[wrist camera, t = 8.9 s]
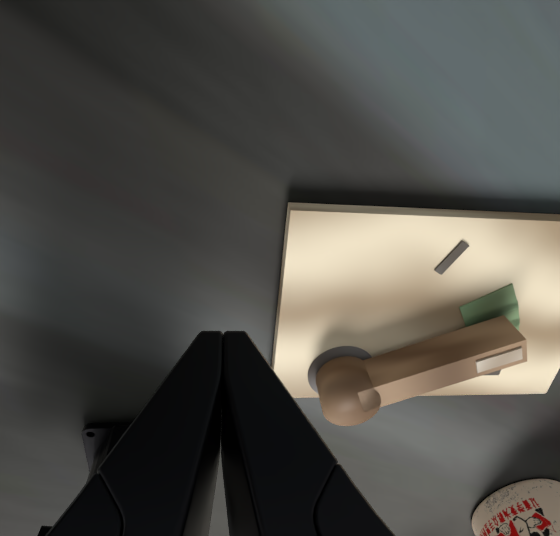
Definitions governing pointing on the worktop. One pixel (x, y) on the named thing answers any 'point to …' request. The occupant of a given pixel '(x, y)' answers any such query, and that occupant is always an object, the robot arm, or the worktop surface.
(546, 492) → the teacup with lid
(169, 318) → the worktop surface
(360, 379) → the walnut lever
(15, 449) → the worktop surface
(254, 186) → the worktop surface
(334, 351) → the dial plate
